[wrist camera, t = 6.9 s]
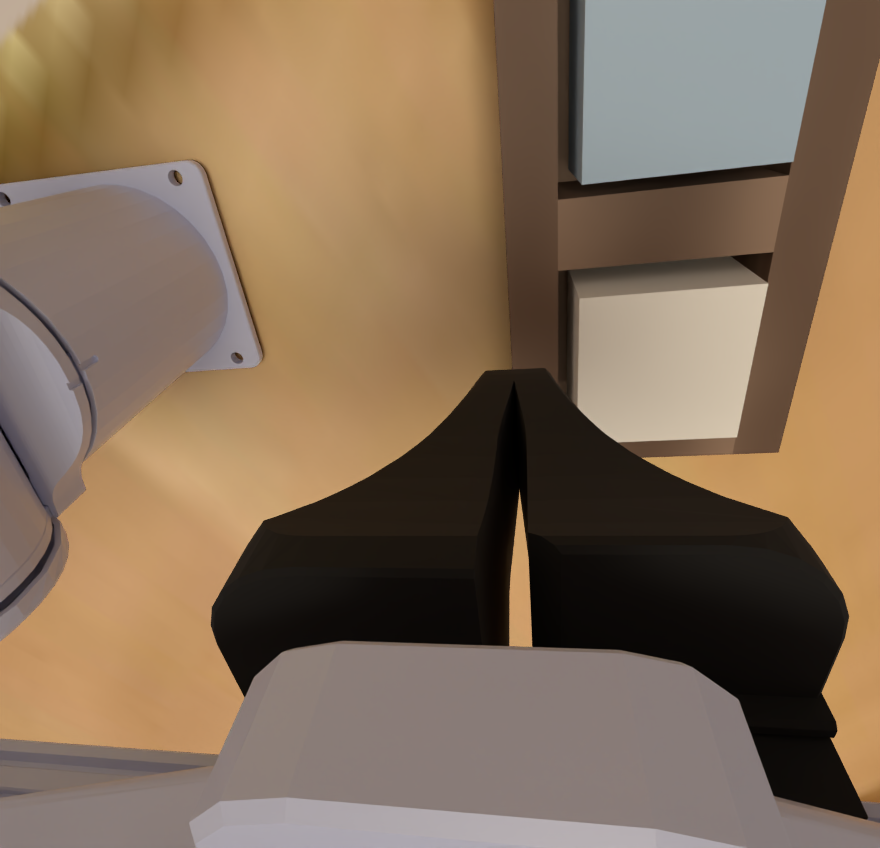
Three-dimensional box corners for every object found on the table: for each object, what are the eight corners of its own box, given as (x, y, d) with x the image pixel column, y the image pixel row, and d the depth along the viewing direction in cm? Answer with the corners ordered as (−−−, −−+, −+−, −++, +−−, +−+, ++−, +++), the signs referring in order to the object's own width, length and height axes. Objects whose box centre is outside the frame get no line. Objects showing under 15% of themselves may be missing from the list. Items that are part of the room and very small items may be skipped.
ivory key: (566, 397, 20) (576, 443, 18) (567, 267, 18) (579, 298, 15) (704, 390, 20) (736, 437, 17) (726, 253, 17) (768, 283, 14)
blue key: (568, 169, 16) (581, 184, 14) (570, -43, 14) (587, -76, 11) (742, 149, 16) (793, 161, 13) (779, -79, 13) (851, -122, 10)
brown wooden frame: (514, 408, 23) (516, 462, 20) (489, -86, 15) (486, -137, 12) (735, 396, 22) (778, 452, 19) (841, -150, 14) (953, -229, 10)
